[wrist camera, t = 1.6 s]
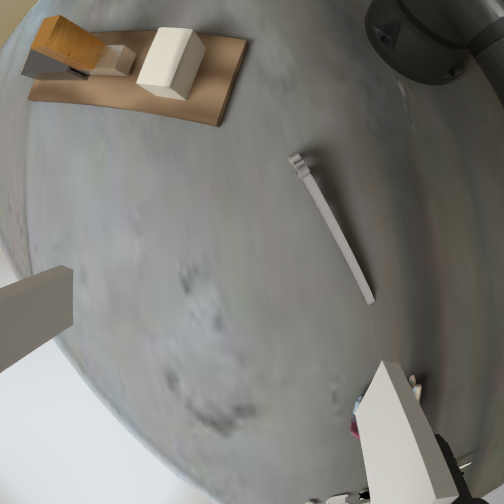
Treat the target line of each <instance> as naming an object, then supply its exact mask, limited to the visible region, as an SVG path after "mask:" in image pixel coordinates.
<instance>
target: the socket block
mask: <svg viewBox="0 0 504 504" xmlns="http://www.w3.org/2000/svg"><path fill="white" fill-rule="evenodd" d="M205 51H206V47H205V46H204V44H203V43H202V41H201V40H200V38H199V37H198V35H197V34H196V32H195V31H194V29H185V28H164V27H159V29H158V32H157V34H156V36H155V38H154V40H153V43H152V45H151V47H150V49H149V52H148V54H147V57H146V59H145V61H144V64H143V66H142V69H141V71H140V74H139V77H138V79H137V82H136V84H138V85H140V86H141V87H143V88H144V89H146V90H148V91H149V92H151V93H152V94H154V95H155V96H160V97H167V98H173V99H179V100H185V101H187V98H188V96H189V93H190V90H191V87H192V84H193V82H194V79H195V76H196V74H197V71H198V68H199V66H200V63H201V61H202V58H203V56H204V53H205Z"/></svg>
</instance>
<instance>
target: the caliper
mask: <svg viewBox="0 0 504 504" xmlns="http://www.w3.org/2000/svg"><path fill="white" fill-rule="evenodd" d="M288 160H289V162H290V163H291V164H292V165H293V166H294V167H295V169H296V170H297V172H296V173H297V175H298V176H299V178H300V179H301V180H302V182H303V183H304V185H305V186H306V188H307V190H308V192H309V193H310V195H311V197H312V199H313V200H314V202H315V204H316V206H317V208H318V209H319V211H320V212H321V214H322V216H323V218H324V220H325V221H326V223H327V225H328V227H329V229H330V231H331V232H332V234H333V236H334V238H335V240H336V242H337V244H338V246H339V248H340V249H341V251H342V253H343V255H344V257H345V259H346V261H347V263H348V265H349V267H350V269H351V271H352V273H353V275H354V277H355V279H356V281H357V283H358V285H359V287H360V289H361V291H362V293H363V295H364V297H365V299H366V301H367V303H368V305H369V304H371V303H373V302H374V301H375V300H374V298H373V295H372V293H371V290H370V288H369V286H368V284H367V282H366V280H365V277H364V275H363V273H362V271H361V269H360V267H359V265H358V263H357V261H356V259H355V257H354V255H353V253H352V251H351V249H350V247H349V245H348V243H347V241H346V239H345V237H344V235H343V233H342V231H341V229H340V227H339V225H338V223H337V222H336V220H335V218H334V216H333V214H332V212H331V210H330V208H329V206H328V204H327V202H326V200H325V199H324V197H323V195H322V193H321V191H320V190H319V188H318V186H317V184H316V182H315V181H314V179H313V177H312V176H311V174H310V173H309V172H310V170H309V169H308V168H307V166H306V165H305V162H304V160H303V159H301V157H300V155H299V154H298V153H296V152H295V153H293V154H291V155H290V156H288Z"/></svg>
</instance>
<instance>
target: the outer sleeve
mask: <svg viewBox="0 0 504 504" xmlns="http://www.w3.org/2000/svg"><path fill="white" fill-rule="evenodd" d="M70 68H71V66H69V65H67V64H65V63H62V62H60V61H58V60H56V59H53V58H51V57H49V56H47V55H44V54H42V53H40V52H37V51H35V50H33V49H31V50H30V52H29V55H28V57H27V60H26V62H25V65H24V67H23V70H22V73H21V75H25V76H28V77H31V78H34V79H37V80H40V81H47V80H76V81H87V79H88V76H89V75H88V74H79V73H77V72H75V71H72V70H70Z"/></svg>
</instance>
